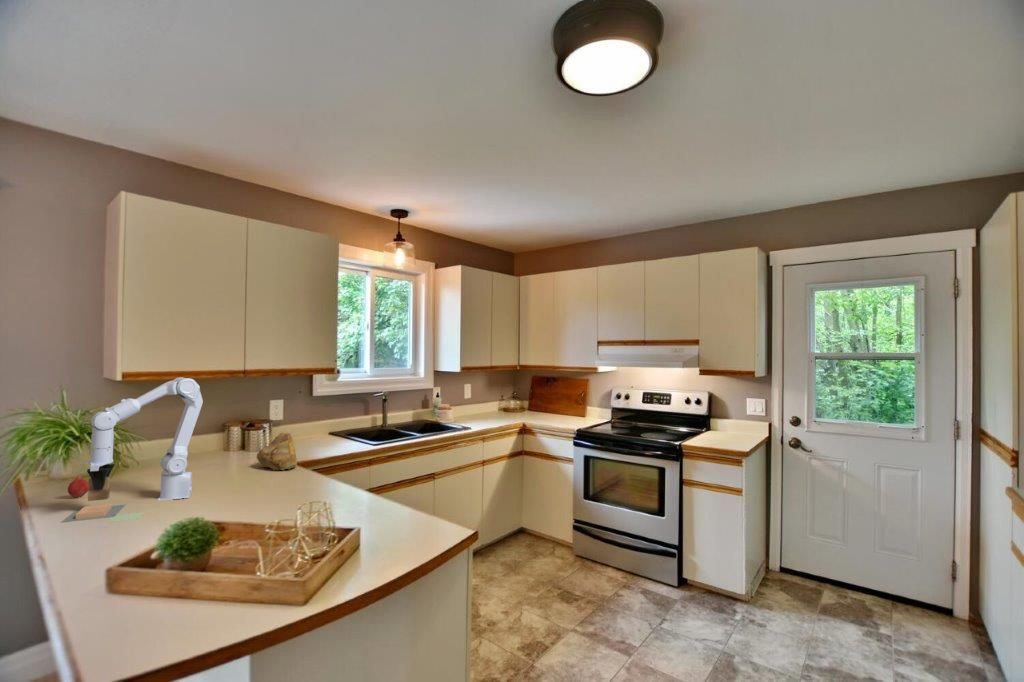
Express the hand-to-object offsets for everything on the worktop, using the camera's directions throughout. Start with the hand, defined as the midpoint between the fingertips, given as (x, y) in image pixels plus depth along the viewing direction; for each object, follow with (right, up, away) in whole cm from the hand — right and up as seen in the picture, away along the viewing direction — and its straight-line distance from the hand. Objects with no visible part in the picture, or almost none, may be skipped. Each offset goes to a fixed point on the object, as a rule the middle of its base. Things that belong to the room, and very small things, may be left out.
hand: (100, 488), depth 159 cm
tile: (0, -6, -1) cm, 6 cm away
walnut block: (0, -4, 0) cm, 4 cm away
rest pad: (+15, -7, -7) cm, 18 cm away
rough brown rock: (+27, -11, +65) cm, 71 cm away
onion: (-19, -8, +12) cm, 24 cm away
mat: (+2, -7, -4) cm, 8 cm away
